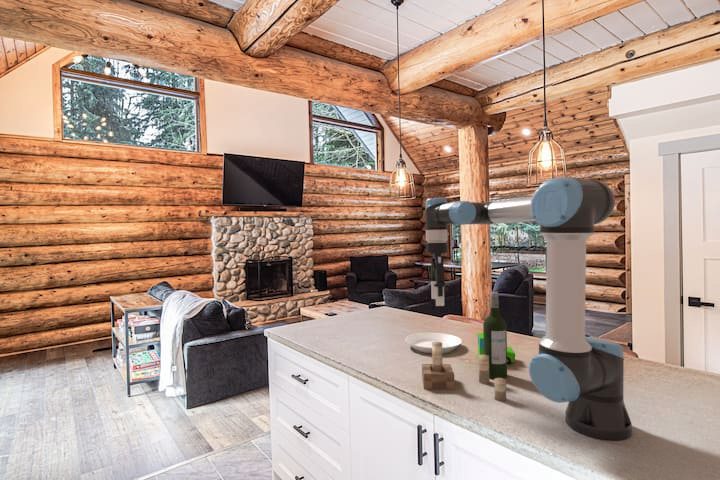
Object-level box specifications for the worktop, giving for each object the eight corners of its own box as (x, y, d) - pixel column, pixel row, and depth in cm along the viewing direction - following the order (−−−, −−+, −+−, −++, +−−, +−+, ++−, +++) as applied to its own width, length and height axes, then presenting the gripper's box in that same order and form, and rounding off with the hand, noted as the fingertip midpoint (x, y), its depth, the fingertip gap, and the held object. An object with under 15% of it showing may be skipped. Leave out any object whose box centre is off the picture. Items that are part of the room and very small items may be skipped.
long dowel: (443, 385, 135) (442, 344, 135) (433, 385, 136) (432, 344, 135) (442, 381, 139) (441, 341, 138) (432, 381, 139) (431, 341, 139)
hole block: (454, 389, 132) (454, 374, 132) (424, 388, 133) (423, 373, 133) (450, 378, 142) (450, 364, 142) (422, 377, 143) (421, 363, 143)
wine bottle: (496, 370, 149) (495, 290, 148) (512, 377, 141) (511, 293, 141) (479, 373, 146) (478, 291, 145) (493, 381, 138) (492, 294, 138)
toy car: (516, 366, 153) (515, 340, 153) (480, 364, 156) (479, 339, 156) (511, 357, 163) (511, 333, 163) (477, 356, 166) (477, 332, 166)
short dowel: (507, 401, 122) (507, 382, 122) (496, 401, 122) (495, 381, 122) (504, 396, 125) (504, 377, 125) (493, 396, 126) (493, 377, 125)
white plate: (402, 354, 171) (401, 346, 171) (409, 339, 195) (408, 331, 195) (462, 357, 165) (462, 349, 165) (461, 341, 189) (461, 333, 189)
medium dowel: (490, 383, 136) (489, 357, 136) (480, 383, 136) (479, 357, 136) (488, 380, 139) (487, 354, 139) (478, 380, 140) (477, 354, 139)
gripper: (453, 243, 128) (454, 309, 128) (442, 240, 153) (443, 296, 153) (429, 243, 128) (430, 309, 129) (422, 241, 153) (423, 296, 154)
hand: (437, 302), depth 141 cm, fingers open, 13 cm apart
